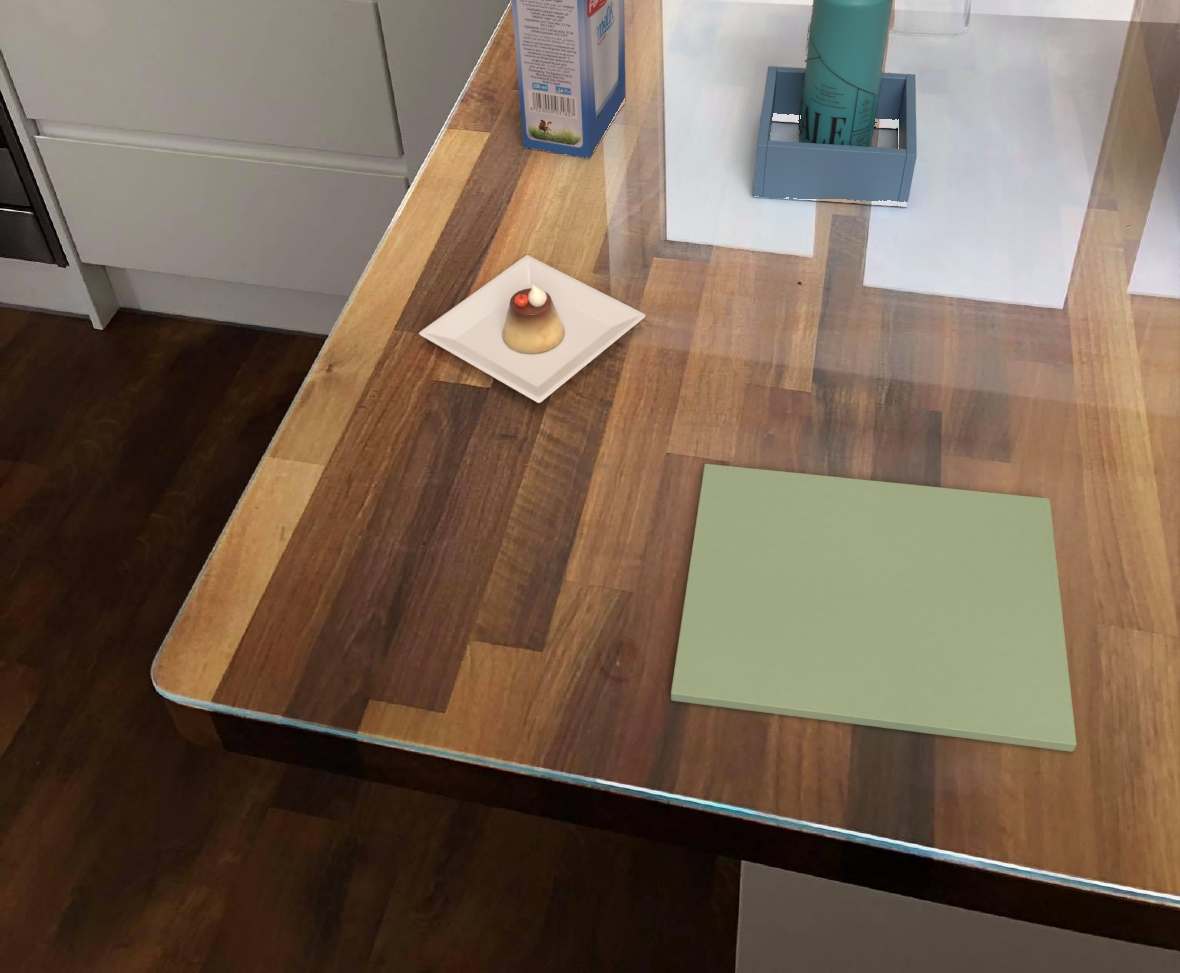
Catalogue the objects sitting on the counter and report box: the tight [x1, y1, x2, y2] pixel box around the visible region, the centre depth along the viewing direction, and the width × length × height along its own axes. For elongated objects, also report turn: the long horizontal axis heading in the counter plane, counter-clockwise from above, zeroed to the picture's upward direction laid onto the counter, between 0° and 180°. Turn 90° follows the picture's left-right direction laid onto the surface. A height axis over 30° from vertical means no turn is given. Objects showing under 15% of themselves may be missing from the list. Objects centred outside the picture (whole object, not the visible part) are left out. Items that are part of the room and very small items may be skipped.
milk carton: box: [511, 0, 626, 160], centre depth 103 cm, size 10×6×20 cm, turn 160°
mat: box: [670, 463, 1078, 753], centre depth 74 cm, size 22×18×1 cm
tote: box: [752, 65, 918, 203], centre depth 104 cm, size 13×13×5 cm
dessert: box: [418, 254, 647, 404], centre depth 89 cm, size 12×12×5 cm
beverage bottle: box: [796, 0, 894, 147], centre depth 98 cm, size 6×7×20 cm
